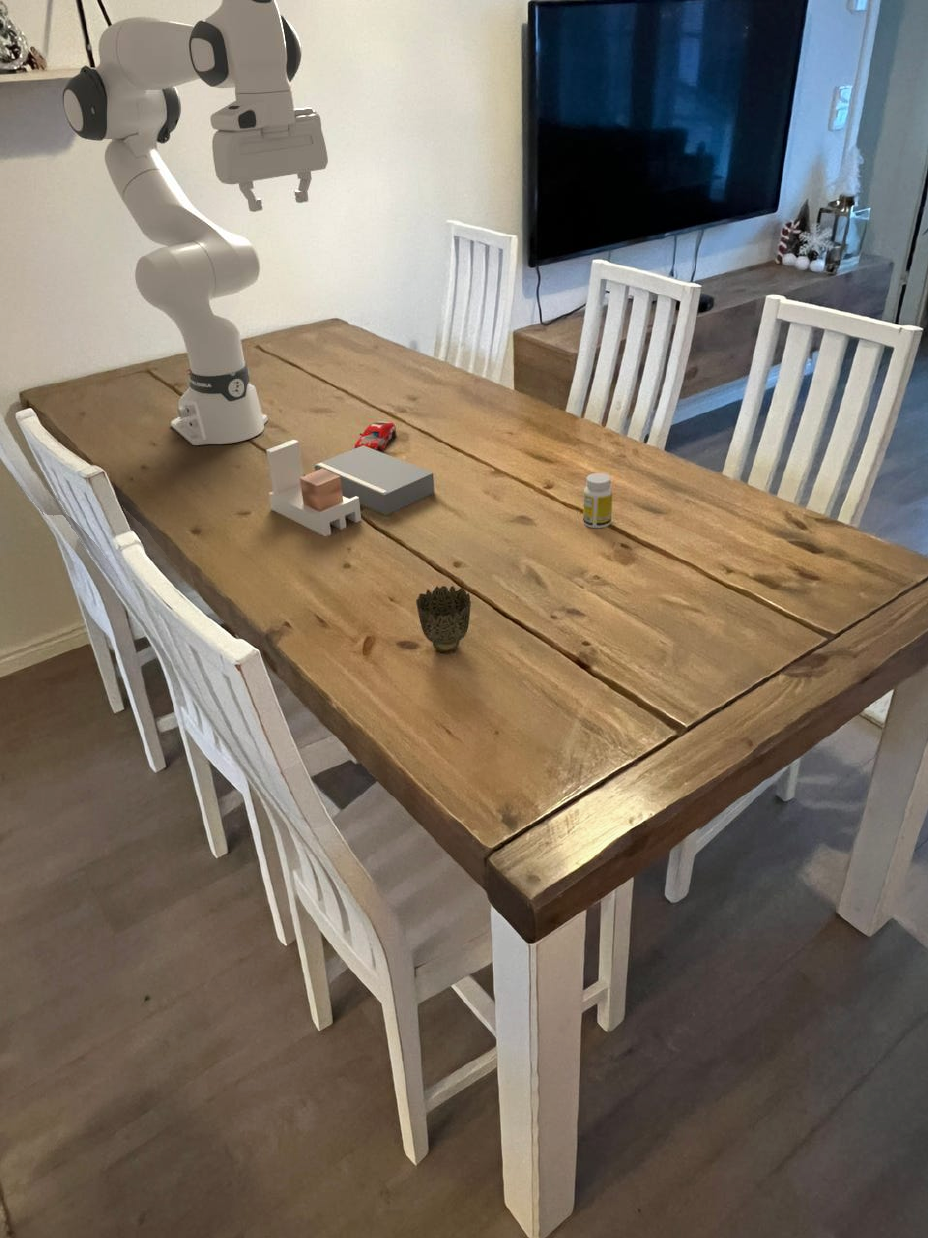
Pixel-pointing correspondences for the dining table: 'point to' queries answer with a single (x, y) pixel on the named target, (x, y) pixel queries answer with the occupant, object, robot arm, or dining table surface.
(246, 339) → the dining table surface
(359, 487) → the block
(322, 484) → the reddish brown cube
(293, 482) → the white stand
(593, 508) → the supplement bottle
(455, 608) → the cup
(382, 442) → the race car
